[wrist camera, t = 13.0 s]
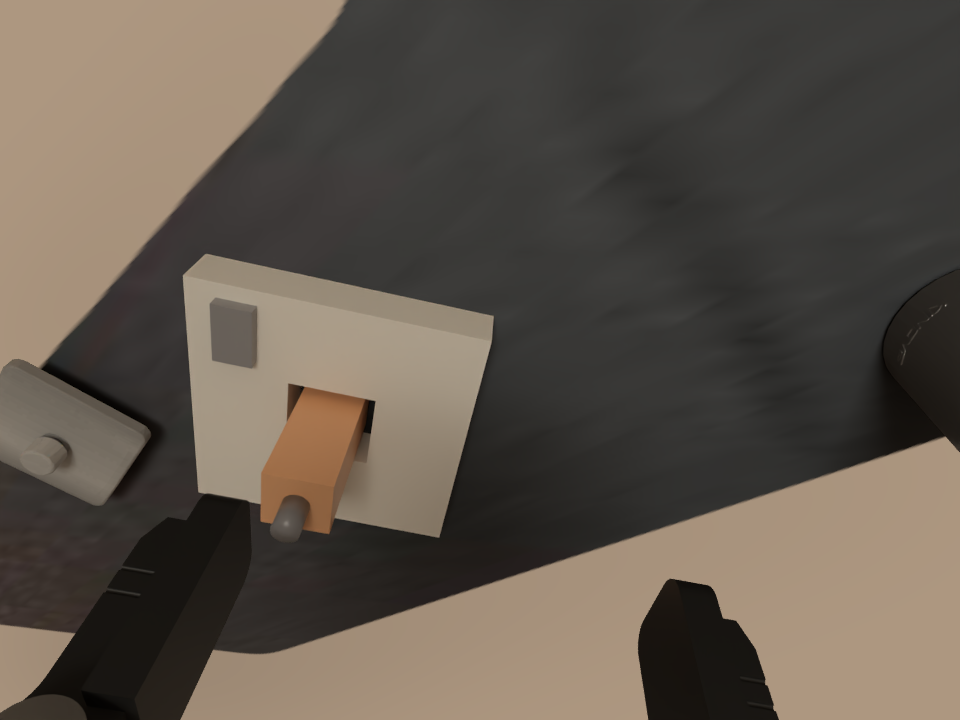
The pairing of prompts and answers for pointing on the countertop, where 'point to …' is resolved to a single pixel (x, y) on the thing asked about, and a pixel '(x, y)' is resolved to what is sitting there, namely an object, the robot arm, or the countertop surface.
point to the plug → (311, 463)
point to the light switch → (64, 434)
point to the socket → (331, 383)
